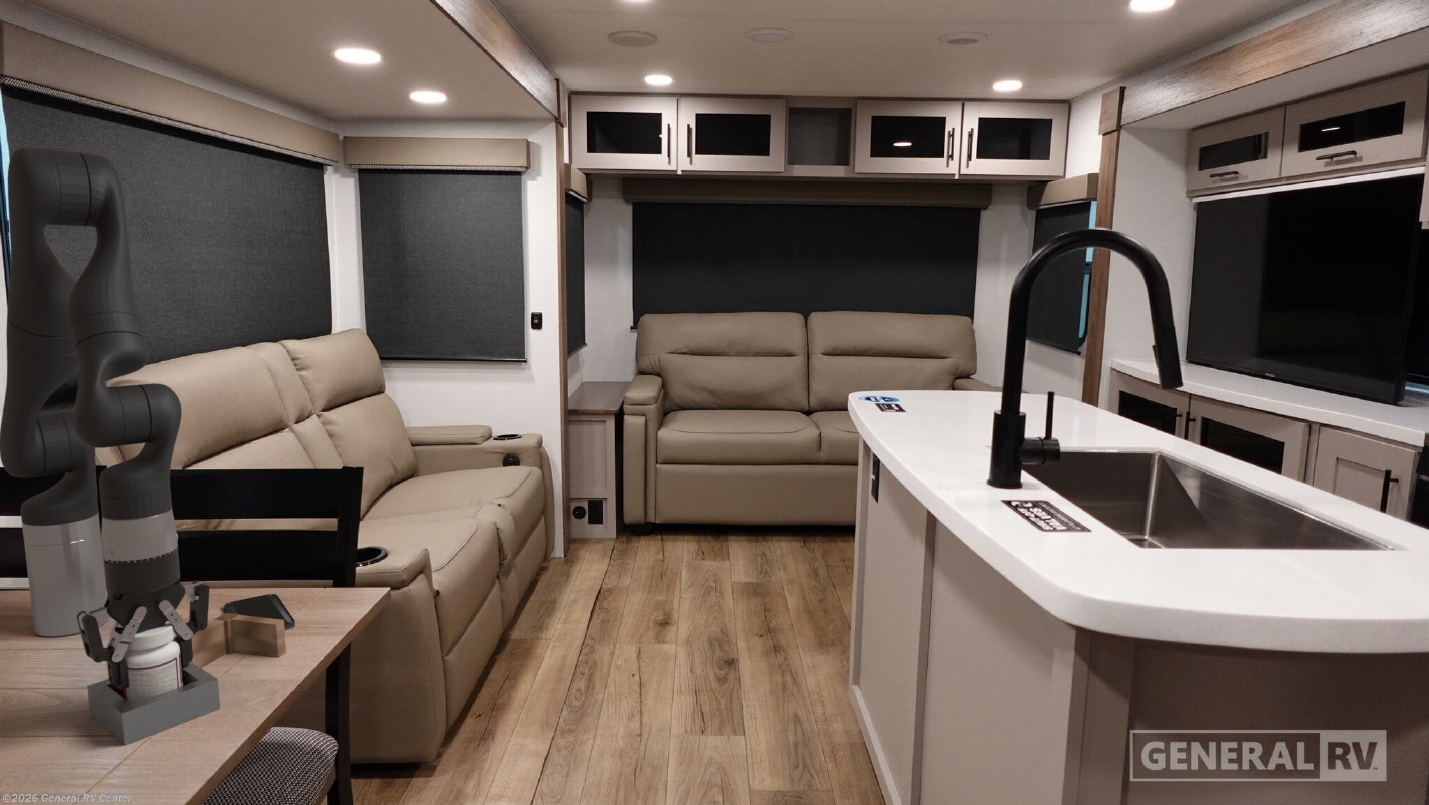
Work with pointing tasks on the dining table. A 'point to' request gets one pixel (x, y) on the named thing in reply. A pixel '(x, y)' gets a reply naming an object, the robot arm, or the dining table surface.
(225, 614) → the v block
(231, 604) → the phone
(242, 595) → the dining table surface
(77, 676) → the dining table surface
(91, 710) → the bore block
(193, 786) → the dining table surface
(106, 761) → the dining table surface
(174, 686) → the pill bottle
